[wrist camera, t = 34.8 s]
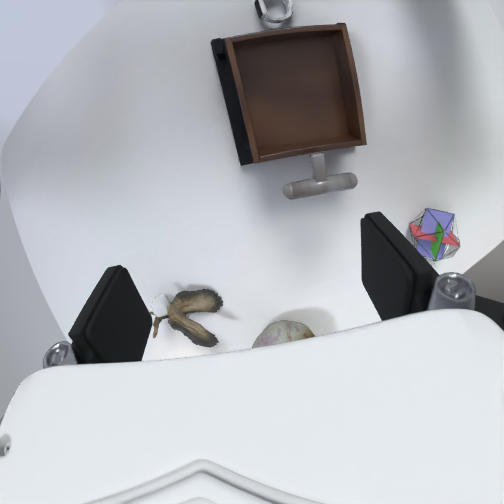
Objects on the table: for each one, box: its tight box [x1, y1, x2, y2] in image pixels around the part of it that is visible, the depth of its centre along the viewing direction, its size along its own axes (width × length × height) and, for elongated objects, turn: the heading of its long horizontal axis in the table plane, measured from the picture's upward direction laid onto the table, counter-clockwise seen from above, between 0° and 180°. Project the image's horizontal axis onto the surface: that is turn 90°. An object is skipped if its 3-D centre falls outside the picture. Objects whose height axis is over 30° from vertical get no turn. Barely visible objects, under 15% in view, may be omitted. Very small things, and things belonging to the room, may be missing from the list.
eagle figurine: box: [149, 289, 223, 347], centre depth 38 cm, size 8×7×9 cm
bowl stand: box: [211, 23, 346, 166], centre depth 25 cm, size 14×13×5 cm
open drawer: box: [225, 25, 367, 200], centre depth 22 cm, size 14×10×6 cm
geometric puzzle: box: [409, 207, 460, 262], centre depth 32 cm, size 7×7×8 cm
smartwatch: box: [254, 0, 293, 23], centre depth 21 cm, size 4×2×4 cm
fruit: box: [252, 320, 315, 348], centre depth 38 cm, size 10×9×12 cm
